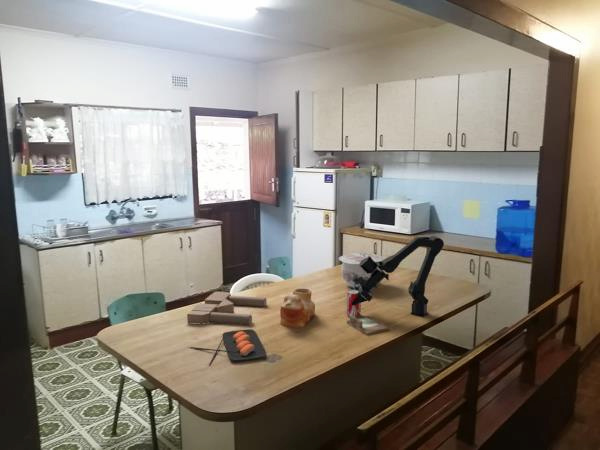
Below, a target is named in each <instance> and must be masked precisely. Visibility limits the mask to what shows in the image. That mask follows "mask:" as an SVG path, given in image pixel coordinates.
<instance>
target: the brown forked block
mask: <svg viewBox="0 0 600 450" xmlns="http://www.w3.org/2000/svg"><path fill="white" fill-rule="evenodd" d="M267 302H268V301H267V297H262V296H261V297H257V296H242V295H231V293H230V292H227V291H214V292H213V293H211V294H210V295H209V296H207V297H206V298H205V299H204V303H199V304H197V305H196V306H195V307H194V308H193V309H191V310H190V311H189V312H187V315H186V316H187V317H186V318H187V324H189V323H200V324H199V325H204V324H203V323H206V324H209V323H208V322H210V323H214V322H216V323H218V324H228V323H229V325H242V326H250V325H251V324H252V323H253V316H252V314H248V313H247V314H245V313H235V306H244V307H262V308H265V307H266V306H267ZM216 323H215V324H216Z"/></svg>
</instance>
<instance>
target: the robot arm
mask: <svg viewBox="0 0 600 450" xmlns="http://www.w3.org/2000/svg"><path fill="white" fill-rule="evenodd" d="M444 245H445V242H444V240H443V238H440V237H438V236H436V235H431V236H415V237H414V238H413V239H412V240H411V241H409V242H408V243H407V244H406V245H405V246H404V247H402V248H401V249H400V250H399V251H397V252H396V253H395V254H392V255H390V256H388V257H385V258H386V259H384V260H383V261H379V262H375V261H374V260H373V259H372V258H371V257H370V256H368V257H367V258H365V259H363V260H362V261H361V262H360V264H359V266H360V267H361V268H362V269H363V270H364V271H365V272H366V273H367V274H368V273H370V274H371V273H372V274H371V275H370V276H369V277H368V276H366V277H365V278H364V277H362V276H360V275H357V274H355V273H354V275H353V277H352V281H353V282H354V283H355V284H357V285H355V284H354V287H355V288H353V290H358V295H357V297H356V298H355V299H354V301H353V302H352V303H351V305H356V304H359V303H361V304H362V303H365V302H371V301H372V300H373V296H372V294H371V293H372V291H373V290H374V289H377V288H378V285H379V284H380V283H381V282H382V281H383V280H384V279H385V280H387V281H389V280H390V279H389V278H390V277H389V276H390V275H389V274H392V273H393V272H395V270H396V269H398V267H399V265H400V264H401V262H402V261H404V259H406V258H407V257H408V256H409V255H410V254H412V253H413V252H415V251H416V250H417V249H419V247H426V253H425V256H424V259H423V262H422V264H421V266H420V269H419V271H418V274H417V277H416V279H415V281H410V283H409V287H408V288H407V289H408V294H409V296H410V297H411V298H412V300H413V301H412V303H411V312H410V314H411V315H414V316H417V317H418V316H419V317H421V318H422V317H424V316H427V315H429V312H428V303H429V299H428V298H427V297H426V296H425V293H426V283H427V280H428V277H429V275H430V272H431V269H432V267H433V264H434V262H435V259H436V257H437V256H438V255H439V254H440V252H441V251H442V250H443V247H444ZM377 267H378V268H379V269H380V270H378V269H377ZM382 270H383V271H382Z"/></svg>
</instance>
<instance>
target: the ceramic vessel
mask: <svg viewBox="0 0 600 450" xmlns="http://www.w3.org/2000/svg"><path fill="white" fill-rule="evenodd" d="M283 298H284V299H283V302H282V303H281V305H280V310H279V315H280V321H279V324H280V325H281V326H284V327H289V328H290V327H291V328H304V327H305V326H306V324H308V323H309V321H310V320H312V319H314V316H315V314H316V313H315V311H316V304H315V302H314V300H312V290H311V289H310V288H307V287H306V288H305V287H300V288H295V289H293V290H292V294H290V293H289V294H286V295H284V297H283Z"/></svg>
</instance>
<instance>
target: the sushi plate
mask: <svg viewBox="0 0 600 450" xmlns="http://www.w3.org/2000/svg"><path fill="white" fill-rule="evenodd" d="M223 342H224V345H225V348H226V350H222V349H220V346H221V345H222V343H223ZM190 347H191V348H190V349H192V348H195V349H194V350H199V349H200V350H201V351H215V353H214V354H213V356H212V359H210V362H209V363H208V367H211V365H212V363H213V361H214V360H215V358H216V355H217V353H218V352H227V354H228V357H229V359H230V360H231V361H234V362H239V361H240V362H241V361H249V360H250V361H251V360H256V359H261V358H262V359H263V358H265V357H266V356H267V351H266V350H265V348H264V344H263V343H262V341H261V340H260V337H259V336H258V333H257V332H256V331H255V330H254V329H239V330H232V331H231V330H230V331H226V332H223V333H222V339H221V340H220V342H219V344H218V347H217V348H216V349H213V348H204V347H196V346H195V347H194V346H190Z"/></svg>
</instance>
